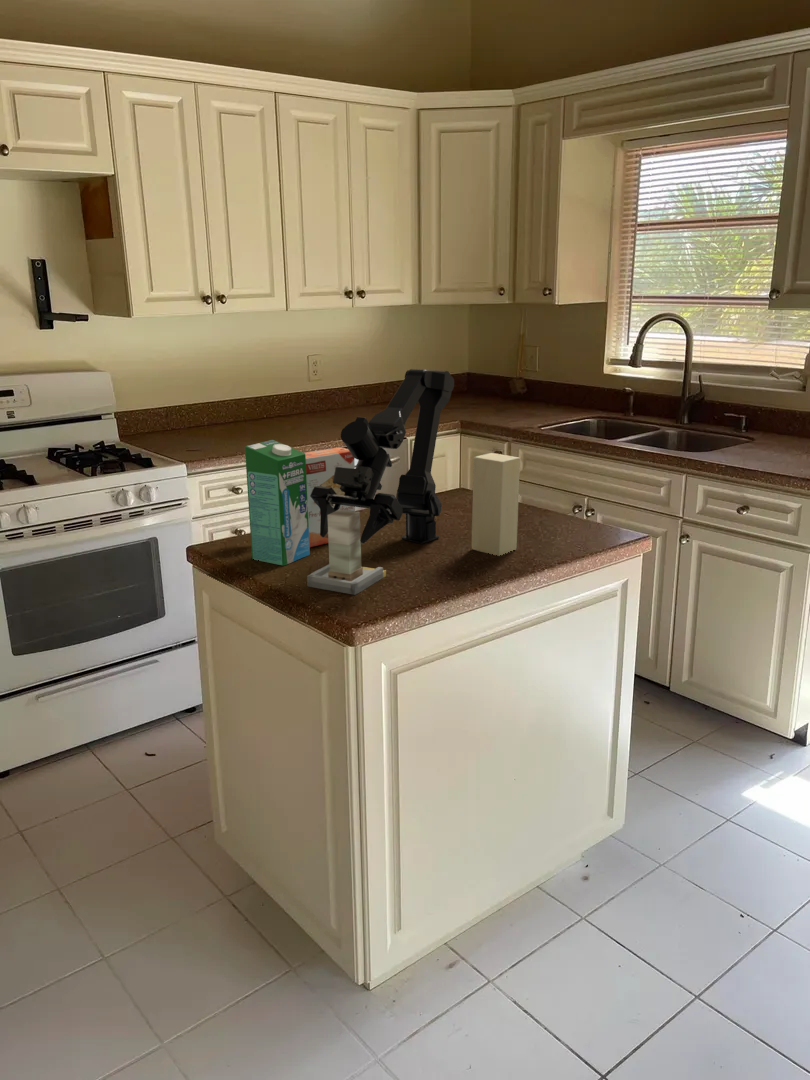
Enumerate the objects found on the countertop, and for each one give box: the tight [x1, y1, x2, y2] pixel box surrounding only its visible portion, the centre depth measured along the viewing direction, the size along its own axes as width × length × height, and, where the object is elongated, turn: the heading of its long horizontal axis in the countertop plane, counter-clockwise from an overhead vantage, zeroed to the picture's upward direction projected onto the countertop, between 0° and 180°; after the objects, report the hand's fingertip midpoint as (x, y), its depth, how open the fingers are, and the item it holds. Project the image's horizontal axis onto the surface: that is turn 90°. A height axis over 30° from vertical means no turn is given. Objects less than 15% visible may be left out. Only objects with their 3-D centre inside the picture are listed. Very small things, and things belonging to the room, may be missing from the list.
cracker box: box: [304, 446, 356, 548], centre depth 196 cm, size 14×6×21 cm, turn 131°
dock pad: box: [306, 563, 387, 596], centre depth 172 cm, size 12×11×2 cm
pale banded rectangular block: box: [328, 510, 364, 581], centre depth 169 cm, size 5×5×13 cm
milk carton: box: [244, 439, 311, 567], centre depth 184 cm, size 9×9×25 cm
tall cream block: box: [471, 452, 521, 557], centre depth 188 cm, size 8×7×21 cm
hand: (341, 539), depth 168 cm, fingers open, 9 cm apart
